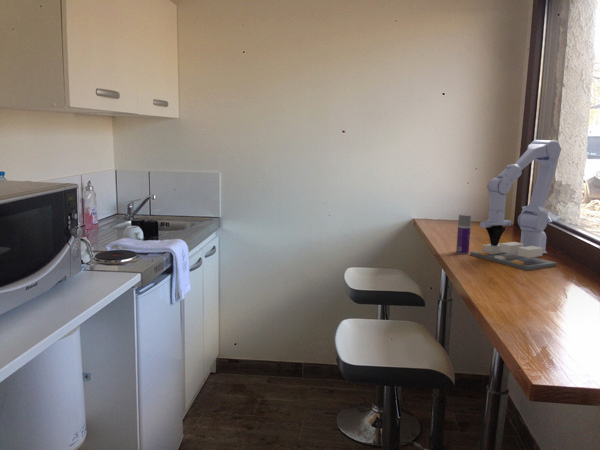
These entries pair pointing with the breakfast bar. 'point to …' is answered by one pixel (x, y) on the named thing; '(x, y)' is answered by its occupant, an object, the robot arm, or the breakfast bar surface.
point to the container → (463, 234)
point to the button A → (491, 249)
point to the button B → (510, 247)
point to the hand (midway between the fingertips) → (494, 245)
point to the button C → (530, 251)
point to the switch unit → (515, 260)
